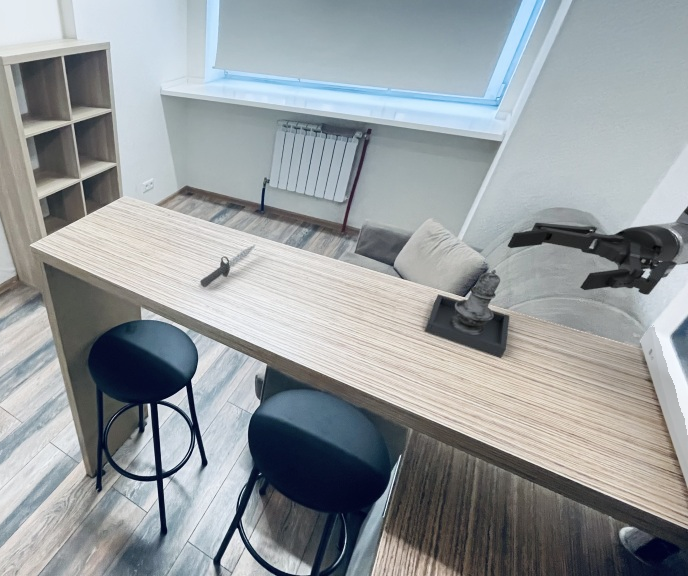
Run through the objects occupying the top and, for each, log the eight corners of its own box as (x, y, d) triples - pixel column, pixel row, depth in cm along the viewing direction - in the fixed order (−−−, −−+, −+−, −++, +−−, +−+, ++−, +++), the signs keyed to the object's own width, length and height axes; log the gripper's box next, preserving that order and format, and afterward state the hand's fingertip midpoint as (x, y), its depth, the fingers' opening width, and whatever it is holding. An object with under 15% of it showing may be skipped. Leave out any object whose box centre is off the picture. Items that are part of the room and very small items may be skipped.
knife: (250, 251, 97) (252, 233, 94) (259, 254, 96) (260, 236, 93) (198, 289, 87) (198, 270, 84) (207, 294, 85) (207, 275, 82)
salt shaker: (490, 338, 71) (523, 281, 64) (453, 333, 72) (481, 277, 66) (478, 317, 76) (507, 262, 69) (443, 313, 77) (468, 259, 70)
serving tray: (504, 324, 75) (509, 315, 74) (500, 357, 68) (506, 348, 67) (434, 302, 81) (438, 294, 80) (424, 331, 74) (428, 322, 73)
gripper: (725, 306, 63) (611, 323, 60) (570, 233, 83) (479, 244, 80) (764, 265, 59) (643, 281, 56) (591, 199, 79) (495, 208, 76)
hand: (546, 259), depth 68 cm, fingers open, 13 cm apart
